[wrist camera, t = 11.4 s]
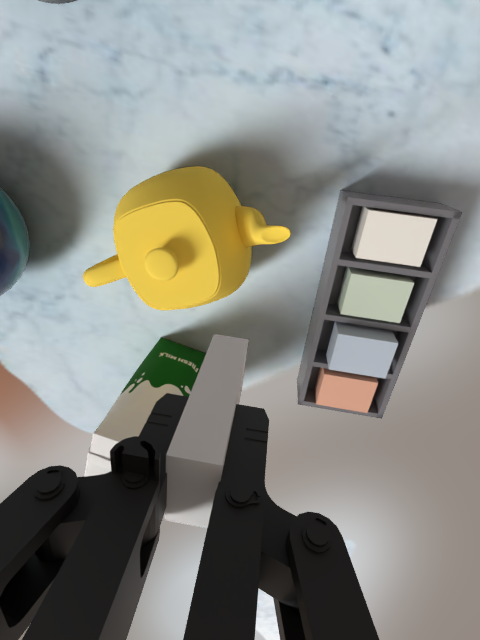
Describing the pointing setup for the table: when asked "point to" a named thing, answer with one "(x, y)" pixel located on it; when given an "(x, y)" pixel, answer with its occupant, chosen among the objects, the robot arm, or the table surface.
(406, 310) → the keypad base
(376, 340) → the key
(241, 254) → the teapot
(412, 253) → the key
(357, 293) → the key
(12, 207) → the vase
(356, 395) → the key
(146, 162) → the table surface
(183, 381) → the milk carton
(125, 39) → the table surface
